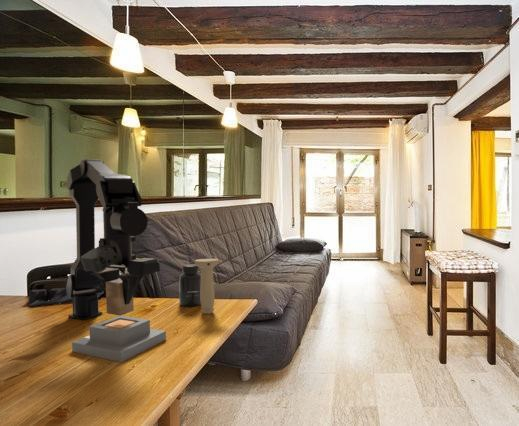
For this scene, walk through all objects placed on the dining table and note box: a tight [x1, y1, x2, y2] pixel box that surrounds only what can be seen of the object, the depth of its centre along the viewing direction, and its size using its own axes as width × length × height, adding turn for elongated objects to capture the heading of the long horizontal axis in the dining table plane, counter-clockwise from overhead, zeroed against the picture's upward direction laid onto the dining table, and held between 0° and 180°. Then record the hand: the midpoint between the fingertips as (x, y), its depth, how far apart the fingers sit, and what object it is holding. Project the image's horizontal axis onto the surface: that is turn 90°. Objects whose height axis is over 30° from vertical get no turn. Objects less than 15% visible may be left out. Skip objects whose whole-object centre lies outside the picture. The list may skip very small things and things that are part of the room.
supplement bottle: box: [178, 263, 201, 308], centre depth 125 cm, size 7×7×12 cm
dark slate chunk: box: [28, 287, 105, 307], centre depth 134 cm, size 15×22×5 cm
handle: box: [194, 258, 219, 315], centre depth 115 cm, size 5×6×15 cm
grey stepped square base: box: [71, 315, 167, 363], centre depth 91 cm, size 14×14×5 cm
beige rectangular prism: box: [105, 278, 135, 316], centre depth 91 cm, size 4×4×7 cm
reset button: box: [105, 320, 135, 329], centre depth 91 cm, size 5×5×3 cm
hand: (119, 303), depth 91 cm, fingers closed on beige rectangular prism, 4 cm apart
